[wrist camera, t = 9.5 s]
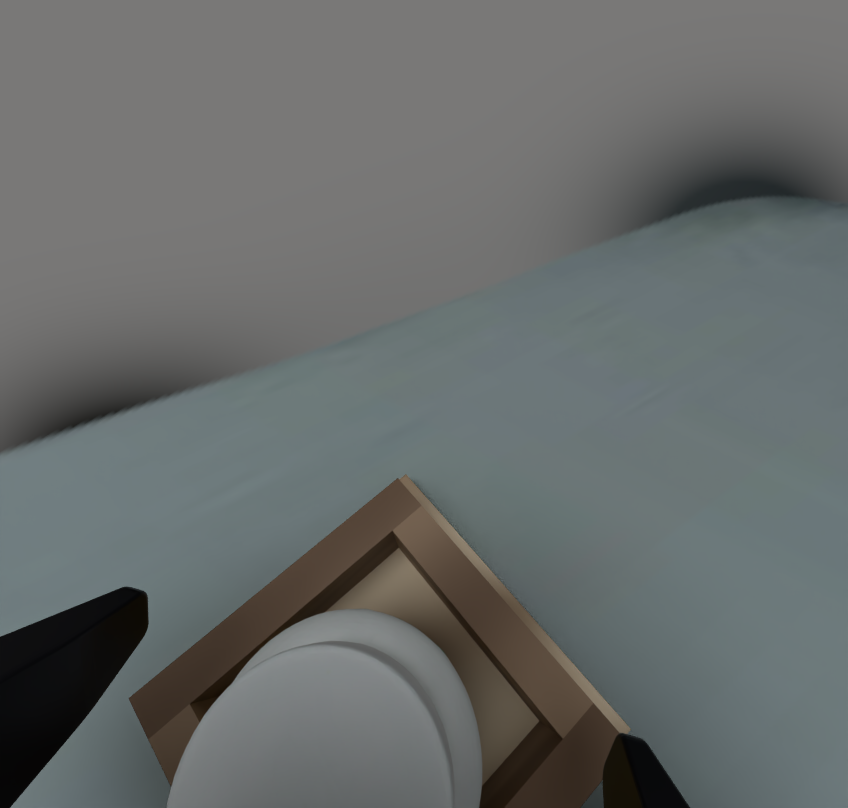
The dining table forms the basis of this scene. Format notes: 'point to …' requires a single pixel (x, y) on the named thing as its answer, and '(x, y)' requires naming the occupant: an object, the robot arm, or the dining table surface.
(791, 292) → the dining table surface
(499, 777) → the socket board
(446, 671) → the supplement bottle
